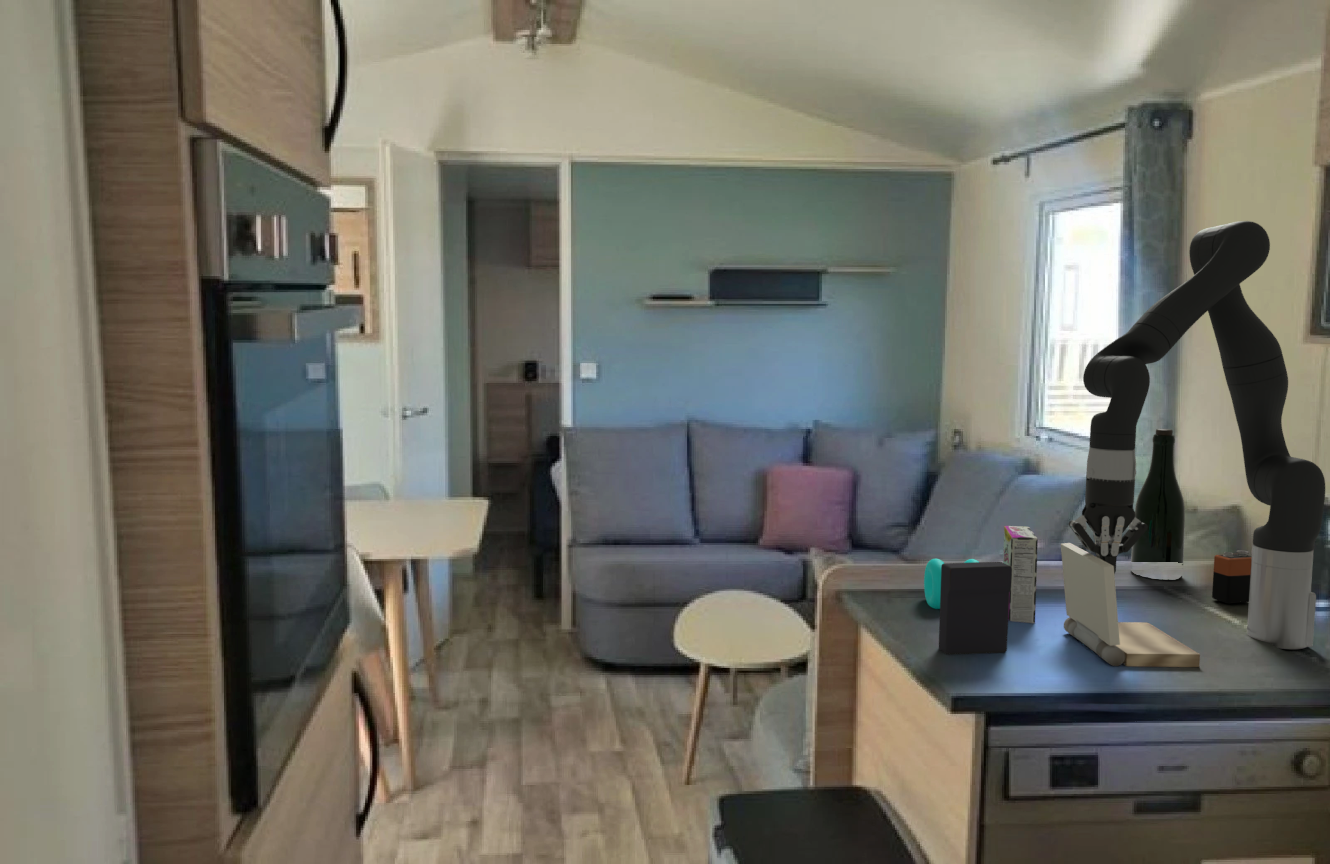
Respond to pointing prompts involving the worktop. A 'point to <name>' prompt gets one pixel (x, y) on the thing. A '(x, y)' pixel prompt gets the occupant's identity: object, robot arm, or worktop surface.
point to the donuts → (935, 581)
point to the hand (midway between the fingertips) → (1105, 576)
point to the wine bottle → (1161, 507)
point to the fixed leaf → (1143, 647)
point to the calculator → (974, 607)
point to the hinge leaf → (1090, 596)
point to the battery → (1232, 577)
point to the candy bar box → (1021, 572)
